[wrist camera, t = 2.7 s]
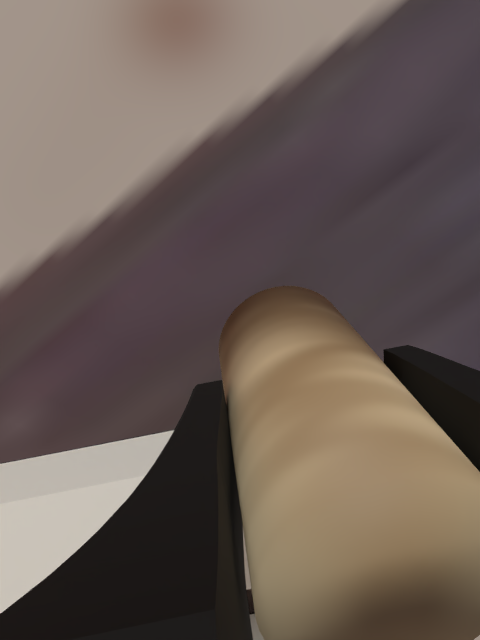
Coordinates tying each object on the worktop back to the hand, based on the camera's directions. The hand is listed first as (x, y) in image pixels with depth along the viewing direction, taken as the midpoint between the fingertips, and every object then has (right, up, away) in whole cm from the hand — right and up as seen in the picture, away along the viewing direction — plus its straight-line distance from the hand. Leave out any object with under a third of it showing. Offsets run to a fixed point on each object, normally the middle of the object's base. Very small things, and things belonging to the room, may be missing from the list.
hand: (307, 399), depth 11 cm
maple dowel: (0, +1, +3) cm, 3 cm away
